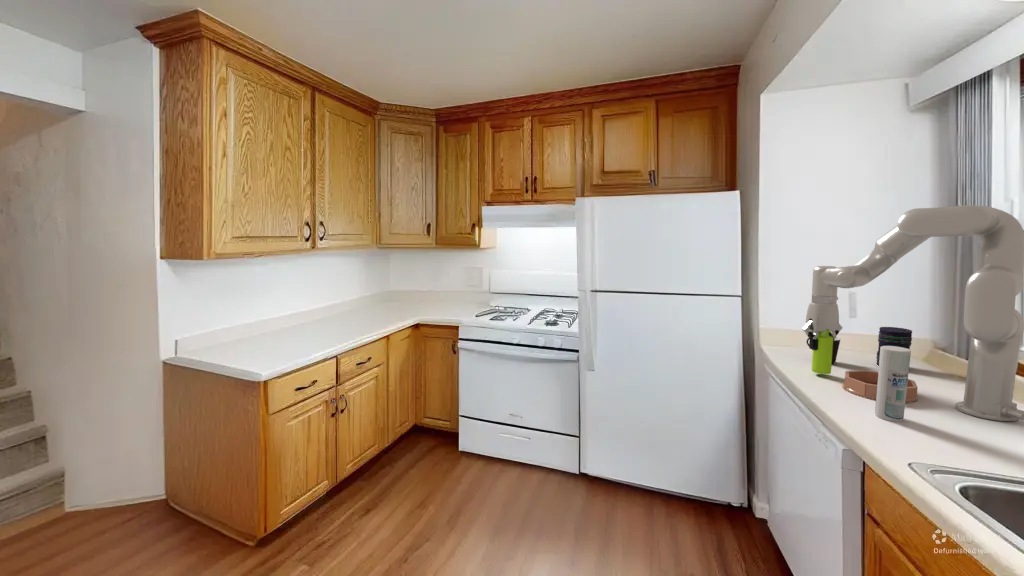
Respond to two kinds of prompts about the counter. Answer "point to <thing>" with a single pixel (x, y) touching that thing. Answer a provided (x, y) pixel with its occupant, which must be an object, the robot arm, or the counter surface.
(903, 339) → the storage jar
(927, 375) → the counter surface
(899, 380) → the spray can
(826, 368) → the soap dispenser
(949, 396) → the counter surface
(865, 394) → the bowl
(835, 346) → the coffee mug
